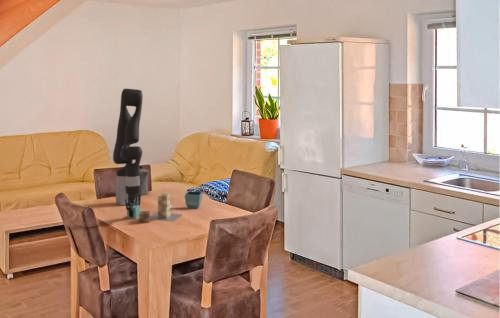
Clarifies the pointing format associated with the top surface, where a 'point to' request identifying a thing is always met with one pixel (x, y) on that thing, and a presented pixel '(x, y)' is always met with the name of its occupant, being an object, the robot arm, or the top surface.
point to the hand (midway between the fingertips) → (133, 215)
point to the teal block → (134, 212)
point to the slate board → (171, 218)
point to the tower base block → (164, 212)
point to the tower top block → (163, 200)
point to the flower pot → (193, 199)
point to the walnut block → (144, 217)
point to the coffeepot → (143, 181)
